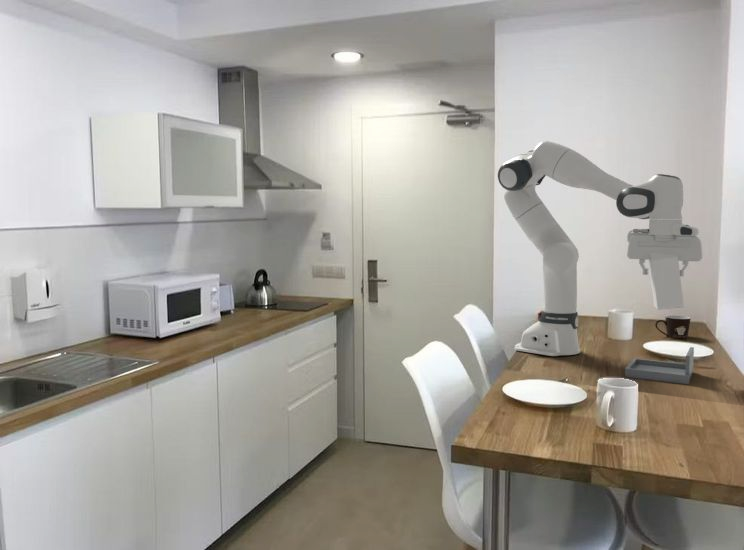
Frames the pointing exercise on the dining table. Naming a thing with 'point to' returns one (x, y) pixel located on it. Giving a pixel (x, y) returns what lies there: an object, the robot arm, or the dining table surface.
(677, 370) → the tray
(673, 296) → the milk carton
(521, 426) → the dining table surface
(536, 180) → the robot arm
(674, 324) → the coffee mug
